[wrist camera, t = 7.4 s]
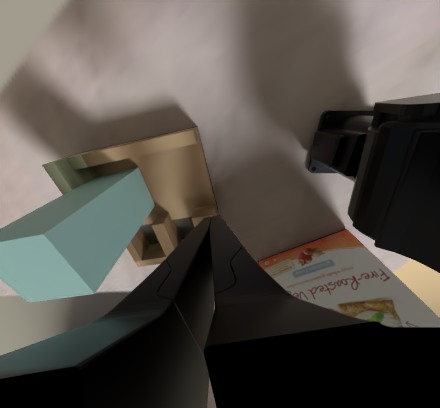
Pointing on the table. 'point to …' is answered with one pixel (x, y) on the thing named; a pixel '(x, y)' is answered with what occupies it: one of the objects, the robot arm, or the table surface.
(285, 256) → the cracker box
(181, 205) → the trap channel
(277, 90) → the table surface
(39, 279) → the block
